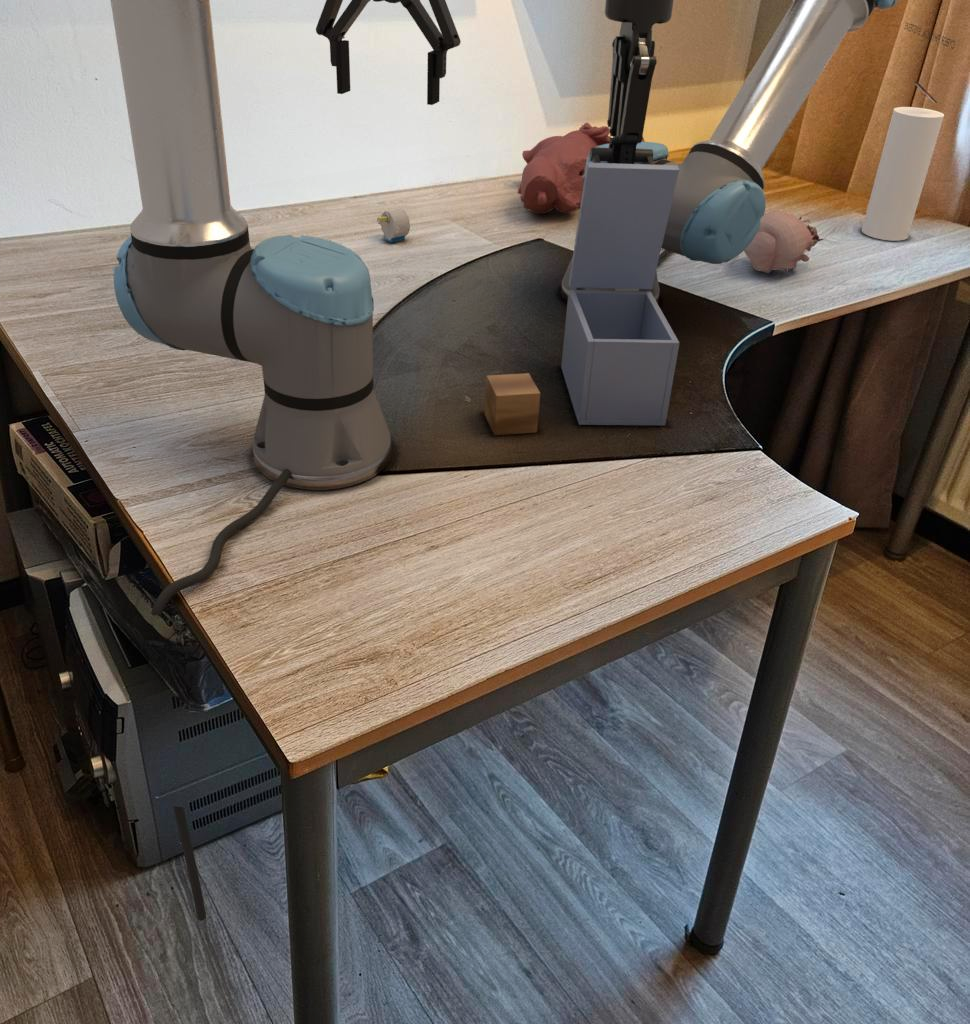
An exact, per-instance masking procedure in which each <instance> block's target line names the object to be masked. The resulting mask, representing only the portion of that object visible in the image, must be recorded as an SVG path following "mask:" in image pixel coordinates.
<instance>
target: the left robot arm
mask: <svg viewBox="0 0 970 1024" xmlns="http://www.w3.org/2000/svg"><path fill="white" fill-rule="evenodd" d="M343 1H344V0H325V3H324V5H323V8H322V11H321V13H320V16H319V19H318V22H317V24H316V27H315V33H316V34H317V35H318V36H323V37H324V38H326V39H327V40H328V42H329V54H330V56H329V57H330V65H331V67H335V70H336V71H335V72H336V94H339V95H343V94H346V93H349V92H351V67H350V66H351V63H350V41H349V40H345V38H346V36H345V35H347V33H348V31H349V30H350V29H351V27H352V26H353V24H354V23H355V21H356V20H357V19H358V18H359V16H360V14H361V13H362V12H363V10H364V9H365V8H366V6H367V5H368V4H369V3H370V2H371V1H372V2H377V3H380V2H384V1H385V2H387V3H389V4H398V3H400V4H401V5H402V7H403V8H405V9H406V10H407V12H408V13H409V15H410V17H411V18H412V20H413V21H414V22H415V24H416V26H417V27H418V29H419V31H420V32H421V33H422V35H423V36H424V38H425V39H426V40H427V43H428V44H429V46H430V47H431V48H432V50H431V51H428V52H427V74H426V75H427V79H426V80H427V85H426V87H427V88H426V105H429V106H433V105H435V104H438V103H440V93H441V92H440V91H441V90H440V89H441V87H440V86H441V83H440V81H441V79H443V78H445V77H446V74H447V54H448V51H449V50H451V49H454V48H457V47H459V46H460V45H461V42H462V41H461V38H460V35H459V33H458V30H457V27H456V24H455V22H454V19H453V17H452V14H451V11H450V9H449V7H448V4H447V1H446V0H428V2H429V5H430V8H431V10H432V13H433V15H434V18H435V21H436V23H437V25H438V26H437V25H436V23H435V22H434V20H433V19H432V17H431V15H429V13H428V11H427V9H426V8H425V6H424V5H423V3H422V2H421V0H351V1H350V2H349V3H348V5H347V6H346V8H345V9H344V11H343V12H342V14H341V15H340V16H339V18H338V19H337V17H338V14H339V12H340V9H341V6H342V4H343ZM110 6H111V12H112V19H113V20H112V21H113V27H114V31H115V39H116V45H117V52H118V59H119V64H120V70H121V77H122V84H123V90H124V96H125V97H124V98H125V103H126V110H127V116H128V122H129V123H128V124H129V129H130V136H131V142H132V149H133V156H134V161H135V169H136V175H137V180H138V187H139V194H140V199H141V206H142V210H141V211H140V212H139V214H138V215H137V216H136V217H135V218H134V220H133V221H132V222H131V224H130V225H129V232H130V236H128V237H127V238H126V239H125V240H124V241H123V243H122V244H121V246H120V247H119V249H118V252H117V256H116V260H117V261H118V265H117V266H114V268H113V288H114V294H115V298H116V302H117V305H118V307H119V310H120V312H121V315H122V316H123V318H124V319H125V321H126V323H127V324H128V325H129V327H130V328H131V329H133V331H134V332H136V333H137V334H138V335H139V336H141V337H143V338H144V339H145V340H148V341H150V342H154V343H157V344H161V345H164V346H167V347H169V348H171V349H174V350H178V351H191V352H197V353H202V354H207V355H211V356H216V357H222V358H226V359H231V360H236V361H242V362H248V363H251V364H252V363H253V364H257V365H259V366H261V370H262V379H263V388H264V390H263V391H264V396H263V400H262V404H261V408H260V412H259V415H258V419H257V423H256V427H255V430H254V434H253V439H252V455H253V460H254V464H255V467H256V468H257V470H258V471H259V472H260V473H261V474H262V475H263V476H265V477H266V478H268V479H269V480H271V481H273V483H272V485H271V486H270V487H269V488H268V489H267V491H266V492H265V494H264V495H263V497H262V498H261V500H259V502H258V503H257V504H256V506H254V507H253V508H252V509H251V510H250V511H248V512H246V513H245V514H244V515H241V516H240V517H238V518H237V519H235V520H233V521H232V522H230V523H228V524H227V525H226V526H225V527H224V528H223V529H222V530H221V531H220V532H219V533H218V534H217V536H216V537H215V538H214V540H213V542H212V545H211V551H210V554H209V558H208V560H207V562H206V564H204V566H203V567H202V569H199V570H197V571H196V572H193V573H192V574H189V575H185V576H184V577H182V578H181V577H180V578H178V579H177V580H175V581H173V582H171V583H170V584H169V585H167V586H166V587H165V588H164V589H163V590H162V591H161V592H160V594H159V595H158V597H156V600H155V602H154V604H153V606H152V608H151V612H150V614H151V616H155V617H156V616H160V615H161V614H163V612H164V611H165V608H166V606H167V604H168V603H169V601H170V600H171V599H172V597H174V595H176V594H177V593H179V592H181V591H183V590H186V589H188V588H190V587H193V586H195V585H198V584H200V583H202V582H204V581H205V580H207V579H208V578H209V577H210V576H211V575H213V573H214V572H215V571H216V569H217V568H218V566H219V564H220V561H221V558H222V553H223V549H224V545H225V543H226V542H227V541H228V539H229V538H230V537H231V536H232V535H233V534H235V533H236V532H237V531H239V530H241V529H242V528H244V527H246V526H248V525H249V524H251V523H252V522H253V521H255V520H256V519H258V518H259V517H260V516H261V515H262V514H264V512H265V511H266V510H267V509H268V507H269V506H270V505H271V504H272V502H273V501H274V499H275V497H276V496H277V495H278V493H279V492H280V491H281V490H282V488H283V487H284V486H286V487H290V488H295V489H301V490H312V491H314V490H315V491H323V490H327V491H328V490H337V489H342V488H348V487H351V486H355V485H358V484H361V483H363V482H366V481H368V480H370V479H373V478H374V477H375V476H377V475H378V474H380V473H381V472H382V471H383V470H384V469H385V468H386V467H387V466H388V464H389V463H390V461H391V458H392V436H391V432H390V430H389V427H388V424H387V422H386V419H385V417H384V413H383V411H382V408H381V406H380V403H379V400H378V398H377V395H376V393H375V385H374V320H373V319H374V318H373V317H374V315H373V314H374V308H375V301H374V297H373V292H372V283H371V275H370V270H369V267H368V266H367V264H366V263H365V262H364V260H363V259H362V258H361V257H360V256H359V254H357V253H356V252H355V251H353V250H352V249H351V248H348V247H346V246H345V245H343V244H340V243H338V242H335V241H331V240H329V239H324V238H322V237H317V236H310V235H300V236H299V237H296V236H293V235H288V234H287V235H279V236H273V237H269V238H265V239H264V240H262V241H260V242H259V243H258V244H257V245H255V247H254V248H253V247H251V242H250V241H251V240H250V233H249V223H248V220H247V219H246V218H245V216H243V215H242V214H240V213H239V212H238V211H237V210H236V209H234V207H233V206H232V203H231V194H230V185H229V183H230V182H229V175H228V174H229V173H228V165H227V156H226V155H227V154H226V146H225V137H224V129H223V128H224V127H223V118H222V117H223V115H222V106H221V97H220V88H219V78H218V67H217V59H216V57H217V56H216V49H215V40H214V30H213V29H214V28H213V21H212V20H213V19H212V11H211V2H210V0H110ZM336 19H337V21H336ZM172 809H173V814H174V818H175V819H174V820H175V822H176V823H175V824H176V827H177V831H178V835H179V839H180V844H181V848H182V853H183V858H184V861H185V866H186V870H187V874H188V879H189V885H190V888H191V893H192V898H193V903H194V908H195V913H196V918H197V920H198V921H199V922H203V921H205V919H206V918H207V912H206V907H205V901H204V896H203V891H202V886H201V881H200V875H199V871H198V866H197V861H196V857H195V853H194V848H193V844H192V839H191V834H190V831H189V826H188V825H189V824H188V821H187V817H186V812H185V808H184V806H176V805H172Z"/></svg>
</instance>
